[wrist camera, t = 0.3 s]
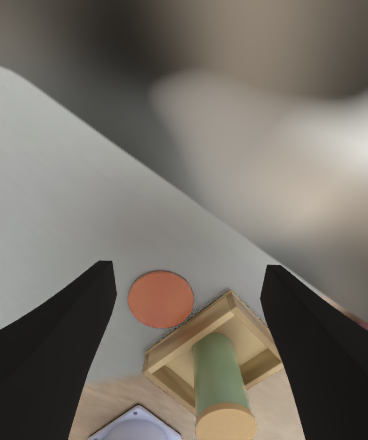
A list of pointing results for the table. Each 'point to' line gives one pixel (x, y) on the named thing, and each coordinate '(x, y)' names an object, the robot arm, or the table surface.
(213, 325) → the crate
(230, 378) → the spice jar
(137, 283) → the coaster
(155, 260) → the table surface
